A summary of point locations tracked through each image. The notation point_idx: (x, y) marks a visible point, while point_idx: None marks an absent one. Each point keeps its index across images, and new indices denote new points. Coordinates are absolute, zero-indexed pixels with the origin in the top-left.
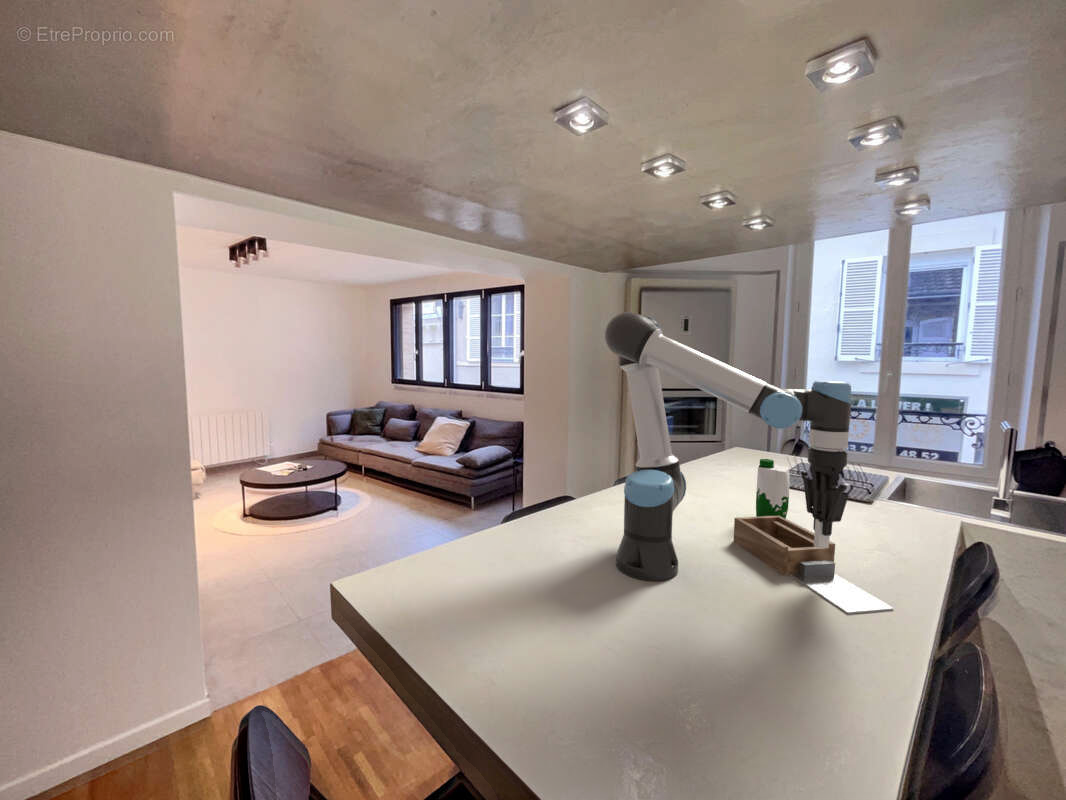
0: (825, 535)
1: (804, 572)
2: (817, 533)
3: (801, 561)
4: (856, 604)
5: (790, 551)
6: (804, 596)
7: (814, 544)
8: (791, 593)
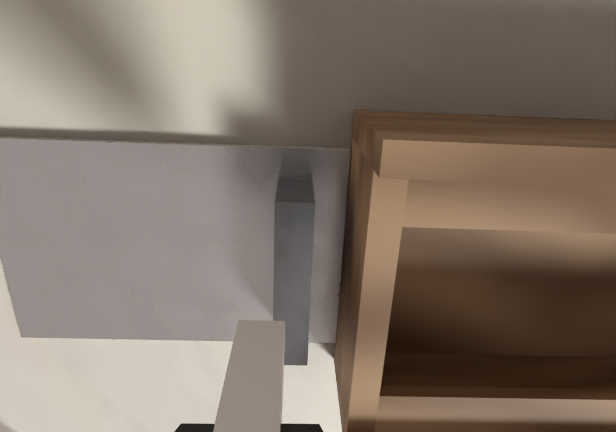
0: (180, 427)
1: (277, 188)
2: (242, 402)
3: (352, 239)
4: (39, 225)
5: (369, 188)
6: (134, 55)
7: (278, 329)
8: (167, 7)
